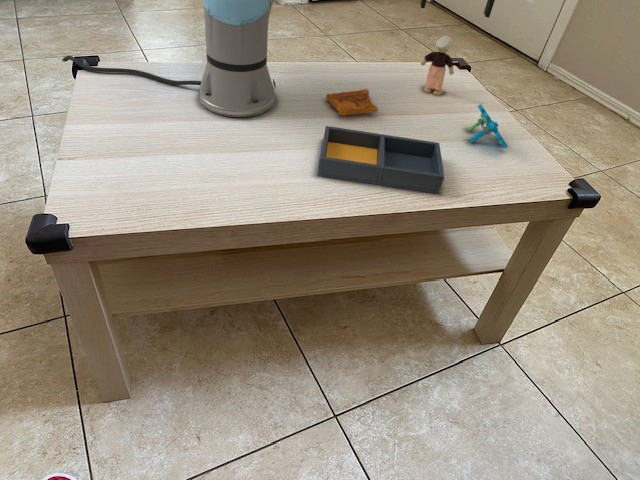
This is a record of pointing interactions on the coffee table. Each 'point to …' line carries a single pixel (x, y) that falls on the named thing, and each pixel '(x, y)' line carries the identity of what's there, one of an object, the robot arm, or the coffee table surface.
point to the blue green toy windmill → (486, 127)
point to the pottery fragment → (352, 102)
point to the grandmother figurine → (438, 65)
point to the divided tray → (381, 160)
